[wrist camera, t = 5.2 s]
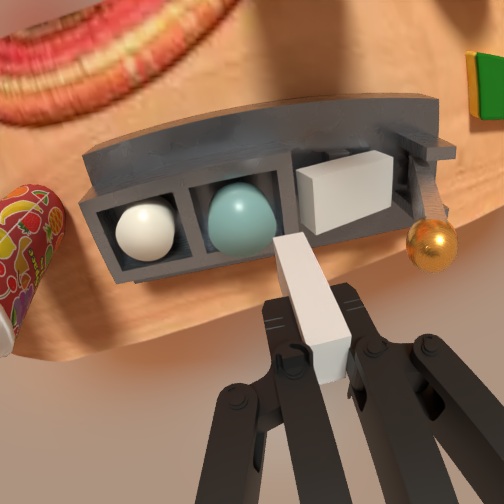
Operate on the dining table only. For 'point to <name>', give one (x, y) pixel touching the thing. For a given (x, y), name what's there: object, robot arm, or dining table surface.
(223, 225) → the button teal
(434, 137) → the grey compartment panel
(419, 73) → the dining table surface
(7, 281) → the smoothie
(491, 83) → the dish sponge
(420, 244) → the lever
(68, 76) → the dining table surface
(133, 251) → the button cream
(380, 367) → the robot arm
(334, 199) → the white brick eraser
